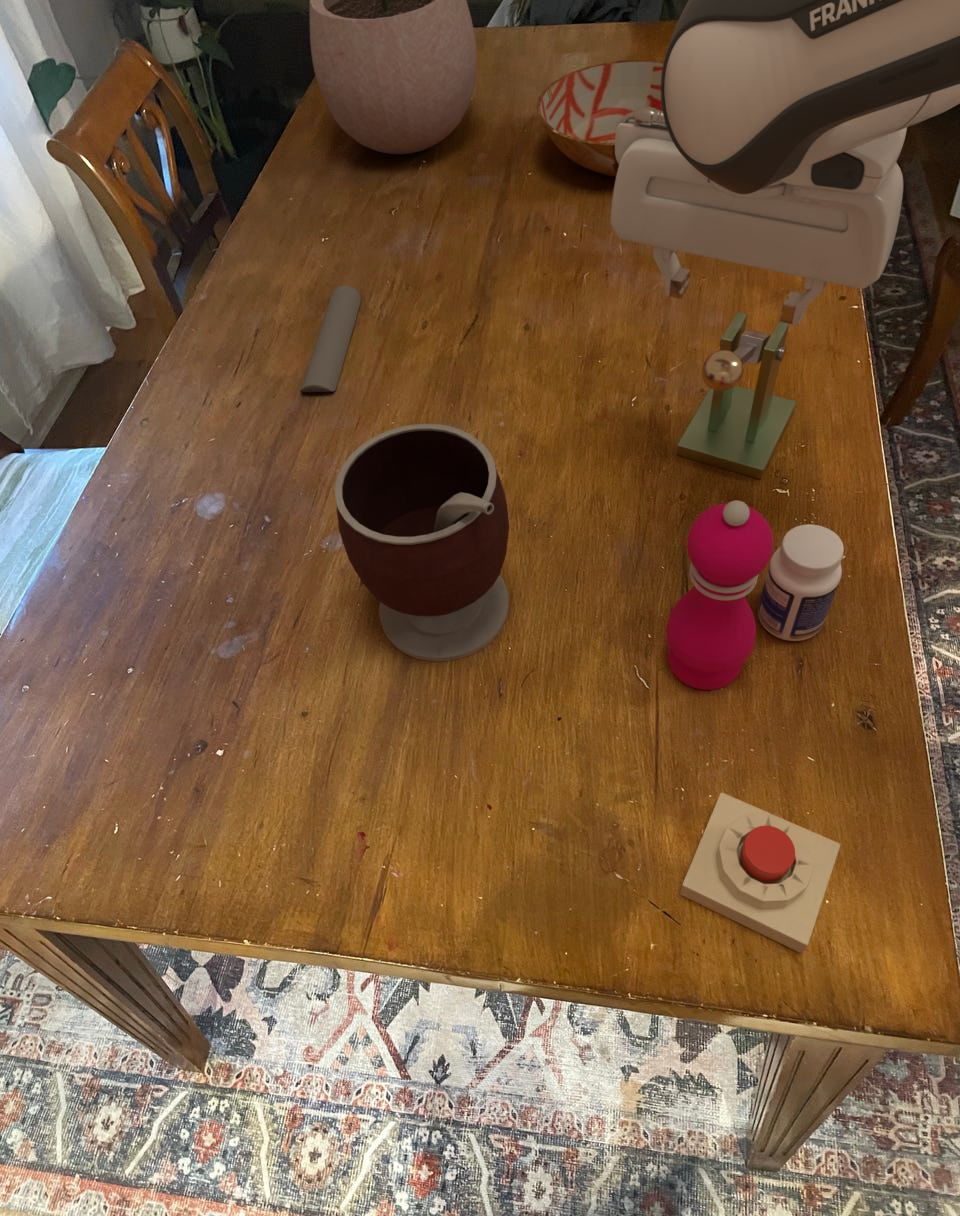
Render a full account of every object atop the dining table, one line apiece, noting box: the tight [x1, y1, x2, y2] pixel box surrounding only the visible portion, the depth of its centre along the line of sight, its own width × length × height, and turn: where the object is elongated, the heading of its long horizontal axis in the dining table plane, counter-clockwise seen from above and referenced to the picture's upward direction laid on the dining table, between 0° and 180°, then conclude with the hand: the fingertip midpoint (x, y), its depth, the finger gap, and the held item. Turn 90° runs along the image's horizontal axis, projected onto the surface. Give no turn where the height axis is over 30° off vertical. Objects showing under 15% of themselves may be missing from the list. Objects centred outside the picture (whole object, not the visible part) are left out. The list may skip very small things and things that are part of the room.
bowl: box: [535, 59, 664, 177], centre depth 122 cm, size 25×25×8 cm
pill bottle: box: [757, 523, 845, 642], centre depth 72 cm, size 6×6×10 cm
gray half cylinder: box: [299, 285, 362, 393], centre depth 105 cm, size 4×20×2 cm, turn 175°
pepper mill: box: [665, 500, 774, 691], centre depth 66 cm, size 7×7×20 cm
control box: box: [679, 792, 841, 954], centre depth 61 cm, size 9×8×4 cm
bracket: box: [675, 311, 798, 480], centre depth 85 cm, size 11×9×13 cm
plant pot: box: [309, 0, 477, 155], centre depth 122 cm, size 24×24×30 cm
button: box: [741, 826, 795, 881], centre depth 59 cm, size 3×3×2 cm
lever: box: [701, 328, 771, 391], centre depth 76 cm, size 14×3×3 cm, turn 151°
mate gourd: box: [334, 423, 510, 663], centre depth 72 cm, size 16×14×20 cm
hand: (732, 306), depth 67 cm, fingers open, 8 cm apart
